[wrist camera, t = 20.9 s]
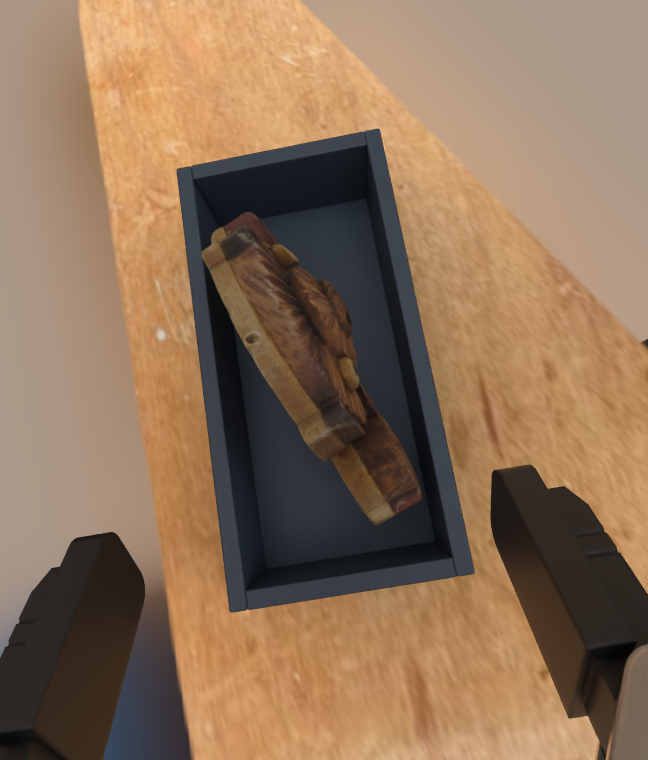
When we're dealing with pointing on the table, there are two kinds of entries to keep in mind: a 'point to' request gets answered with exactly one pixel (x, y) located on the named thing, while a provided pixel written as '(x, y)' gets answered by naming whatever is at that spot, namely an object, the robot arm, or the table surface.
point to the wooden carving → (310, 362)
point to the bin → (374, 366)
